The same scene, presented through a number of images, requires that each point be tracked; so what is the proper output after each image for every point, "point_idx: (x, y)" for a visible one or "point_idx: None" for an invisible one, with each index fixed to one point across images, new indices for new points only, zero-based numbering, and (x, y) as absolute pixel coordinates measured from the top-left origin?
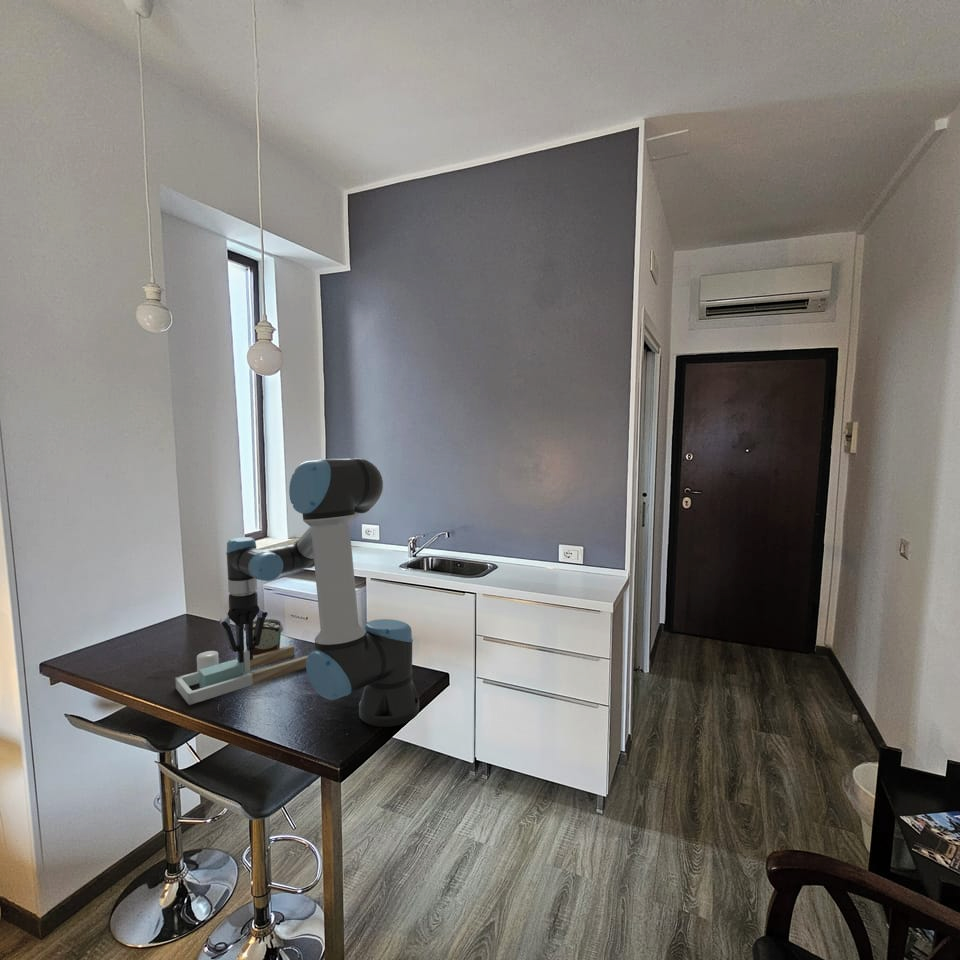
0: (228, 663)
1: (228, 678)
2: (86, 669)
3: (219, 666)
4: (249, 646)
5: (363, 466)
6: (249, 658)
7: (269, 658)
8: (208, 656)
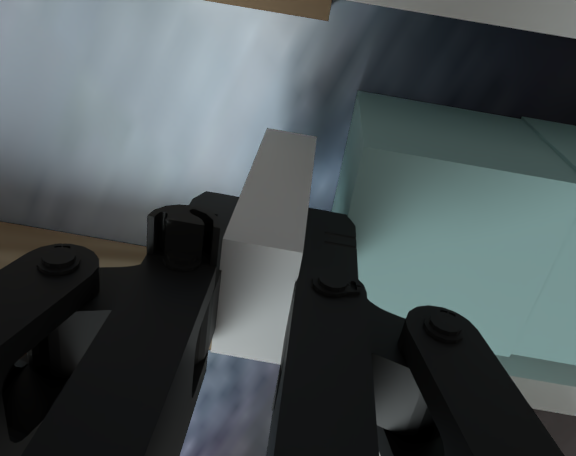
0: (439, 293)
1: (503, 137)
2: None
3: (538, 303)
4: (201, 282)
5: None
6: (246, 187)
7: (19, 249)
8: None
